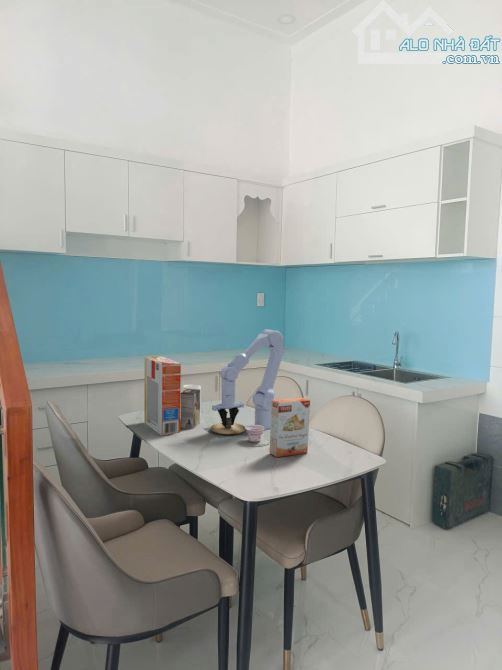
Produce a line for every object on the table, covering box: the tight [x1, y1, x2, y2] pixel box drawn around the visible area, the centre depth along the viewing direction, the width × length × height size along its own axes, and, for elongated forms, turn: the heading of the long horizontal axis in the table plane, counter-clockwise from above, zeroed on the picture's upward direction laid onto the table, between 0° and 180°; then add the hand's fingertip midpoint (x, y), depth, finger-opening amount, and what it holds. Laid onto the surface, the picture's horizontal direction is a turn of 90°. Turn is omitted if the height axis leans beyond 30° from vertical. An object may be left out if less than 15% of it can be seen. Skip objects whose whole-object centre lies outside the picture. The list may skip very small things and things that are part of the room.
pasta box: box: [143, 355, 182, 437], centre depth 224 cm, size 23×8×30 cm, turn 30°
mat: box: [202, 427, 248, 439], centre depth 221 cm, size 16×16×1 cm
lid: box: [209, 416, 246, 434], centre depth 221 cm, size 15×15×5 cm
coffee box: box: [180, 389, 201, 430], centre depth 228 cm, size 9×6×16 cm
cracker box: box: [269, 397, 311, 458], centre depth 194 cm, size 14×6×21 cm, turn 117°
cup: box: [182, 384, 202, 413], centre depth 239 cm, size 8×8×16 cm
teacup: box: [239, 424, 270, 448], centre depth 208 cm, size 12×12×6 cm
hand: (227, 425), depth 221 cm, fingers closed on lid, 3 cm apart
